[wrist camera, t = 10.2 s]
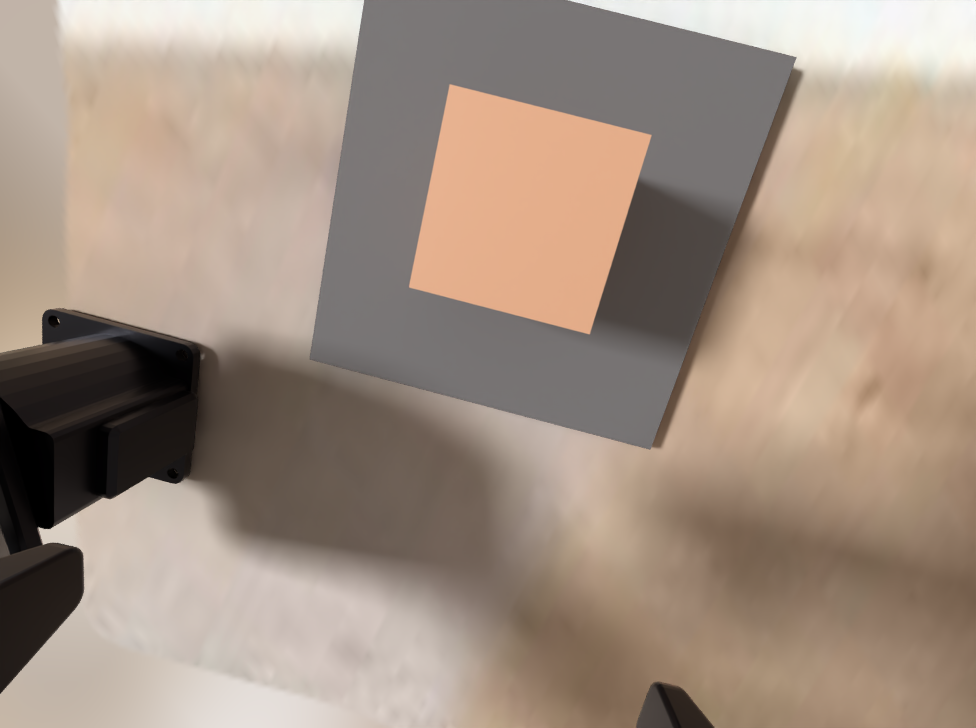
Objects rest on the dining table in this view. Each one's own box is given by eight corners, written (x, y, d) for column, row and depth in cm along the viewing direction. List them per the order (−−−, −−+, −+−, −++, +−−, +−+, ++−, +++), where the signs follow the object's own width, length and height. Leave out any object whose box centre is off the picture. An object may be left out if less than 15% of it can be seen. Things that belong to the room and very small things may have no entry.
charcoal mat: (316, 356, 19) (309, 359, 18) (377, -37, 15) (372, -49, 15) (646, 443, 19) (650, 449, 18) (786, 64, 15) (796, 57, 15)
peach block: (441, 276, 17) (408, 287, 12) (473, 133, 16) (449, 84, 11) (571, 310, 17) (589, 334, 12) (613, 169, 16) (651, 135, 11)
